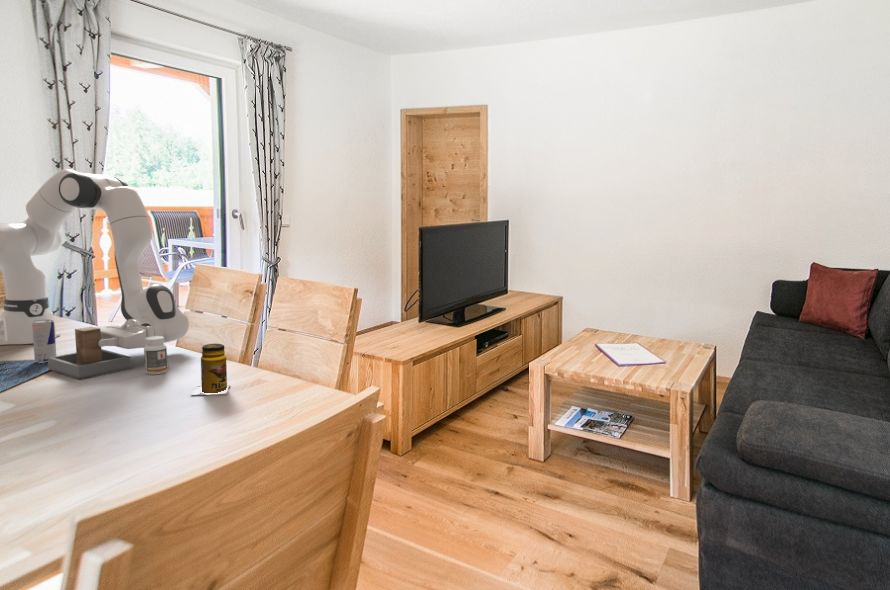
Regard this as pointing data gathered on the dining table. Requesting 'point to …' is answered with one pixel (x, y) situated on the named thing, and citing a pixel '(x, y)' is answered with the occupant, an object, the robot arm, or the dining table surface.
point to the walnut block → (88, 345)
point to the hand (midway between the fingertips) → (88, 341)
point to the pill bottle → (155, 355)
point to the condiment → (213, 368)
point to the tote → (89, 365)
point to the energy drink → (43, 340)
